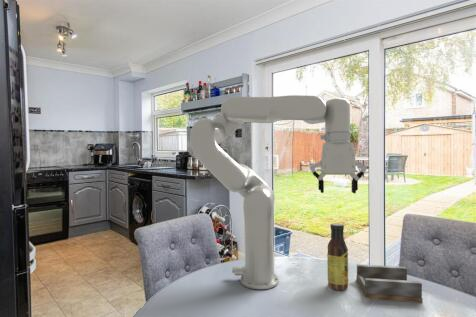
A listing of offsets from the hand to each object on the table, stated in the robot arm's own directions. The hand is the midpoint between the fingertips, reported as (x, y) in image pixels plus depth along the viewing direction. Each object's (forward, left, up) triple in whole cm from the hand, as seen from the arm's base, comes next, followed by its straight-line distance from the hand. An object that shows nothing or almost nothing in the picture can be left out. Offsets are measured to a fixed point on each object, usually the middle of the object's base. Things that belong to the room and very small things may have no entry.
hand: (337, 192), depth 97 cm
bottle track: (+14, 0, -30) cm, 33 cm away
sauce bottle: (0, 0, -30) cm, 30 cm away
